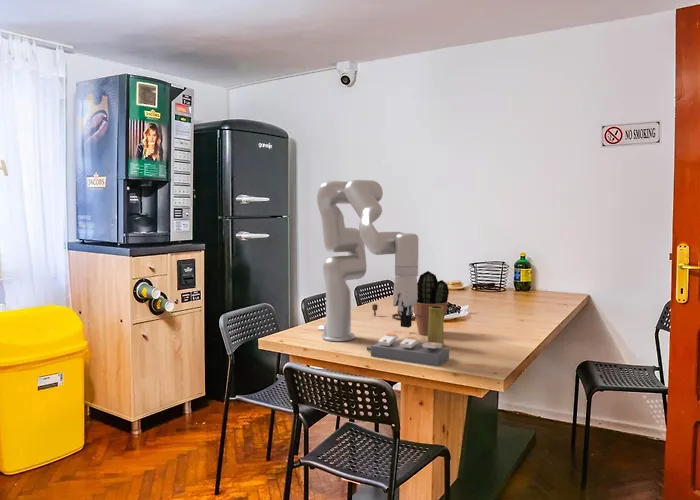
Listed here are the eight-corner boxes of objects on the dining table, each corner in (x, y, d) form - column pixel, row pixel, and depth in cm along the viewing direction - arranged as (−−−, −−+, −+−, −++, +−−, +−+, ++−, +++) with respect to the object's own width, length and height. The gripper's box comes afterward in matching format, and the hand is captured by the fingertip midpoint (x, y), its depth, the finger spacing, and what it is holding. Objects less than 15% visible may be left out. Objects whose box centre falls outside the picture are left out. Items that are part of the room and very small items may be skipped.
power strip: (360, 354, 184) (360, 343, 184) (373, 348, 193) (373, 337, 192) (438, 366, 170) (438, 353, 170) (449, 358, 179) (449, 346, 178)
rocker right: (422, 346, 174) (422, 342, 174) (430, 345, 180) (430, 341, 180) (434, 348, 172) (434, 344, 172) (441, 347, 178) (441, 343, 178)
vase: (442, 343, 199) (442, 305, 198) (445, 347, 193) (446, 308, 192) (425, 343, 199) (426, 305, 198) (428, 348, 193) (429, 308, 192)
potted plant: (420, 338, 207) (421, 273, 205) (407, 331, 220) (407, 270, 218) (453, 336, 210) (453, 272, 208) (438, 329, 223) (438, 268, 222)
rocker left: (378, 344, 182) (378, 340, 182) (387, 336, 188) (387, 333, 188) (389, 345, 180) (388, 342, 180) (397, 338, 186) (397, 334, 186)
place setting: (400, 324, 236) (400, 310, 235) (369, 317, 251) (369, 304, 250) (427, 318, 247) (427, 306, 247) (396, 312, 262) (396, 300, 262)
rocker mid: (399, 346, 178) (399, 342, 178) (408, 340, 184) (408, 336, 184) (411, 348, 176) (411, 344, 176) (419, 341, 182) (419, 337, 182)
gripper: (405, 268, 184) (404, 321, 186) (386, 272, 171) (385, 329, 173) (425, 269, 180) (425, 323, 182) (407, 274, 168) (407, 332, 169)
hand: (406, 326), depth 177 cm, fingers closed
